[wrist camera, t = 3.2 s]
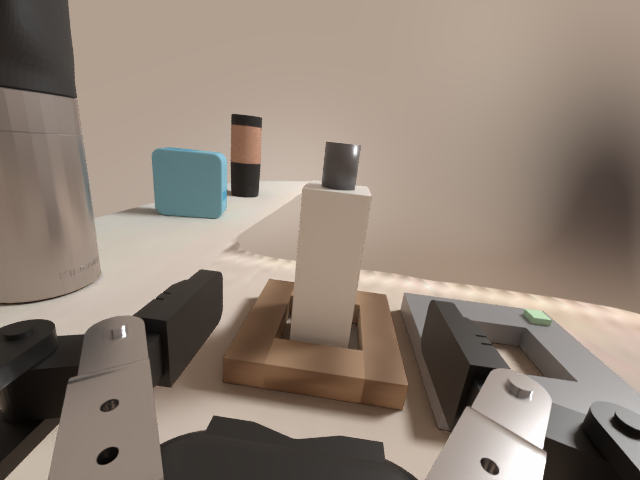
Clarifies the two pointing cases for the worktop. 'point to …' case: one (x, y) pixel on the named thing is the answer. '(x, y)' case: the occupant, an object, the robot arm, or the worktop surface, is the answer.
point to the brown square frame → (319, 353)
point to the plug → (330, 250)
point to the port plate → (528, 354)
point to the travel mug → (245, 155)
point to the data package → (189, 182)
